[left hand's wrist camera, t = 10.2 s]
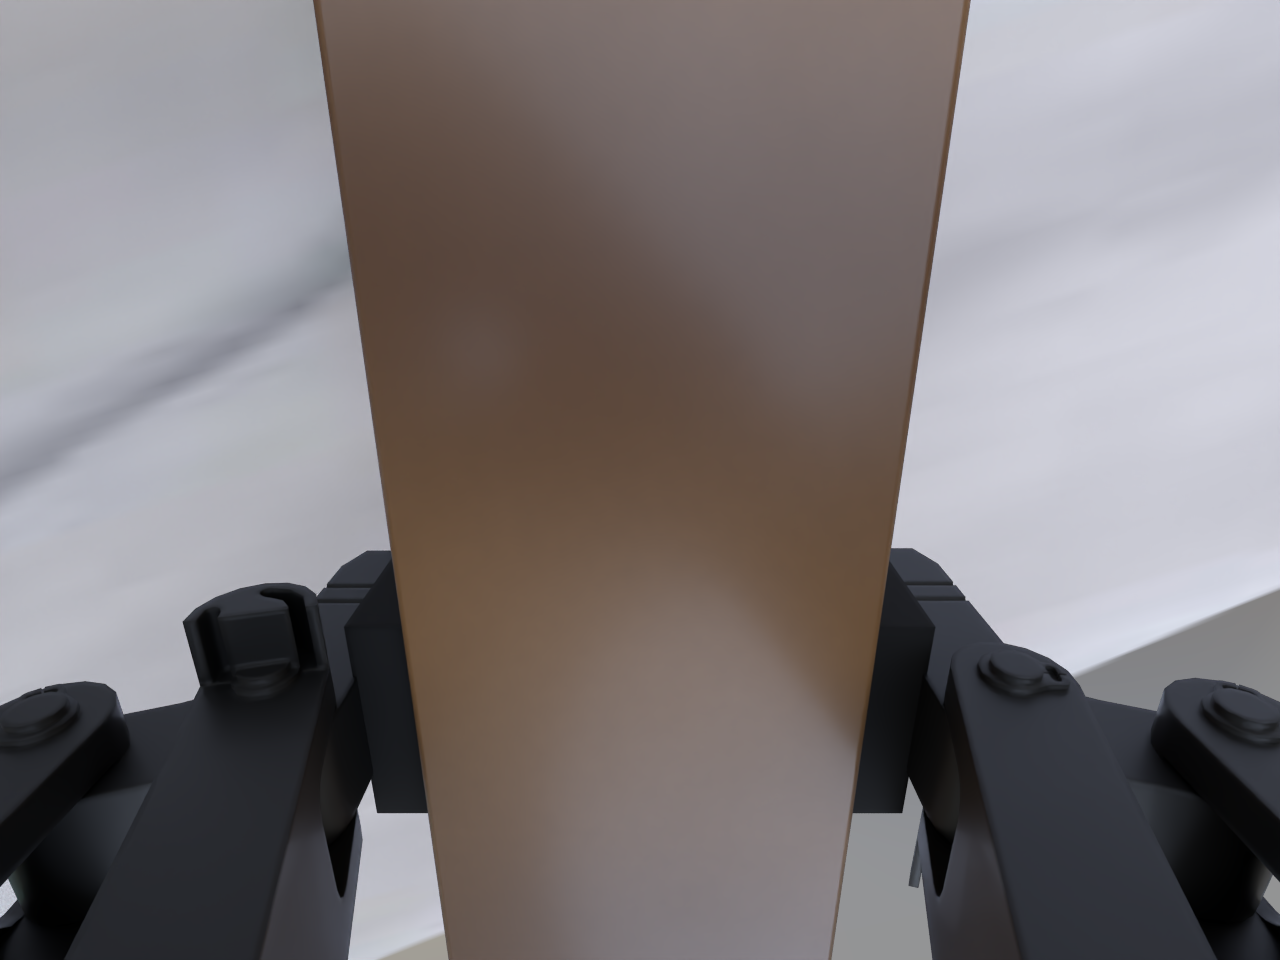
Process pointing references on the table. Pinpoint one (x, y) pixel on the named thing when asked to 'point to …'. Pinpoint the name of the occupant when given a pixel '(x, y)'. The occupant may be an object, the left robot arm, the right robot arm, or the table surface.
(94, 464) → the table surface
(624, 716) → the post
